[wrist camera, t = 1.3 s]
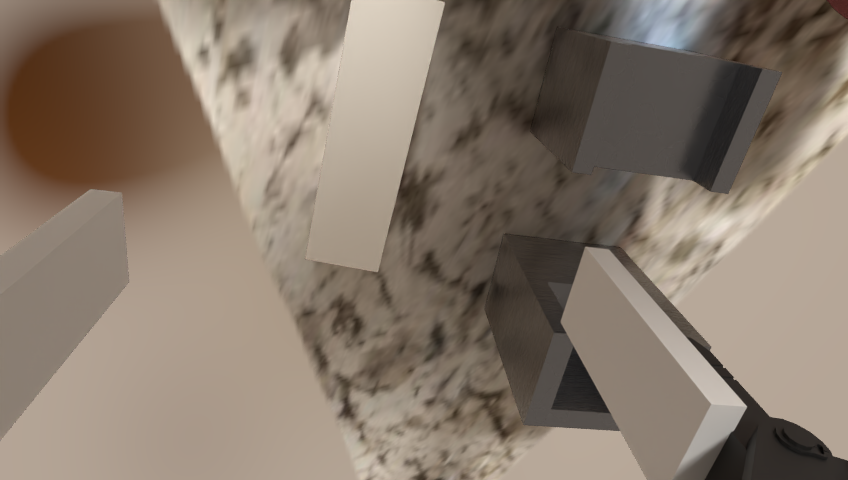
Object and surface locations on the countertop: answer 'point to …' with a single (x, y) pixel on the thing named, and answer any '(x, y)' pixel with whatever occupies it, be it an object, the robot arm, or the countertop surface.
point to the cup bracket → (552, 331)
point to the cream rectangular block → (371, 128)
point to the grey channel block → (649, 108)
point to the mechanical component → (840, 6)
